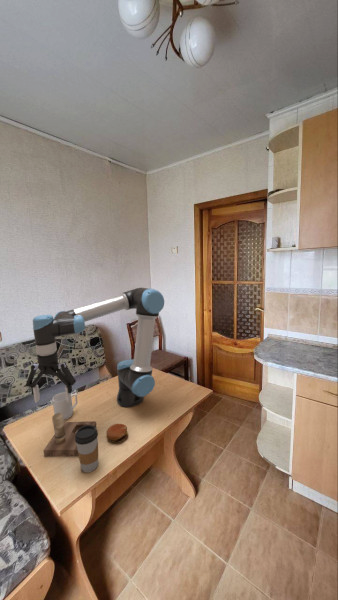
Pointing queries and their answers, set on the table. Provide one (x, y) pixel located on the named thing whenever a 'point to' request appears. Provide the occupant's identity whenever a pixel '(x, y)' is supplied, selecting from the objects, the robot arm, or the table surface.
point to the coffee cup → (87, 447)
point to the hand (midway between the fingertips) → (53, 400)
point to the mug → (63, 405)
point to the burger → (117, 433)
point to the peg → (59, 428)
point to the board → (66, 440)
